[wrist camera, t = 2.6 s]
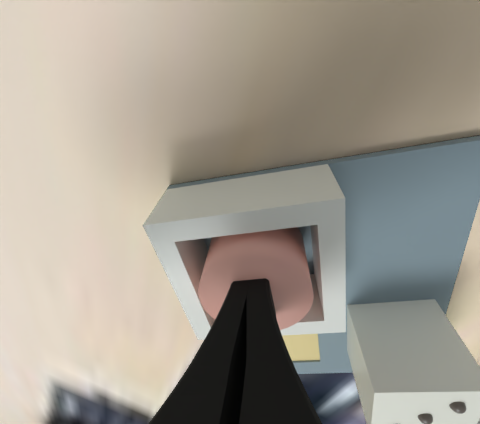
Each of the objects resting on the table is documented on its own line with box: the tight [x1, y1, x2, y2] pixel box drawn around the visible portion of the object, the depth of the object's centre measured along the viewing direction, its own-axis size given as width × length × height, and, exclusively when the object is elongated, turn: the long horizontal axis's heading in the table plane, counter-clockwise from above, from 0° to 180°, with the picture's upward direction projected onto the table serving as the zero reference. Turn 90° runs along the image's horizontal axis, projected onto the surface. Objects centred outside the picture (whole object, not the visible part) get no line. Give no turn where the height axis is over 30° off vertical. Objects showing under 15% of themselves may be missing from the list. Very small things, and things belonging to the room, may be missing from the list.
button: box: [198, 227, 314, 330], centre depth 12 cm, size 4×4×3 cm
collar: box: [143, 164, 346, 340], centre depth 12 cm, size 7×7×3 cm
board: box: [167, 136, 480, 374], centre depth 15 cm, size 13×16×1 cm
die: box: [347, 299, 480, 424], centre depth 14 cm, size 4×4×5 cm
